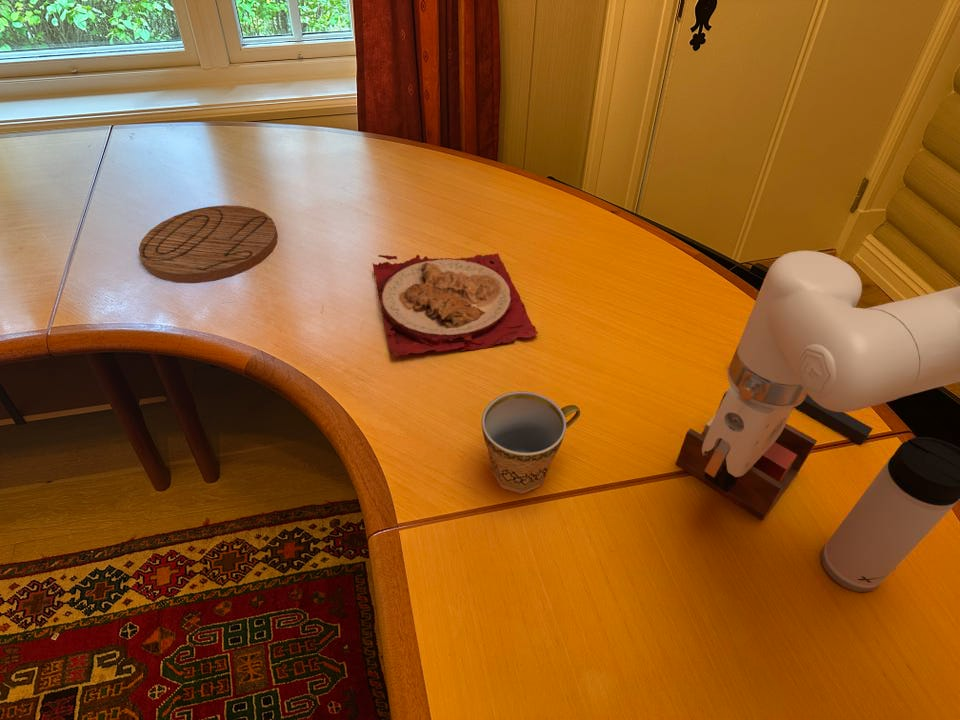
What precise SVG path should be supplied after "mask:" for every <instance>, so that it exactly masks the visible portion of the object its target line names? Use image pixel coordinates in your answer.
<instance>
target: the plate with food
mask: <svg viewBox="0 0 960 720" xmlns="http://www.w3.org/2000/svg"><path fill="white" fill-rule="evenodd" d="M377 257H379V258H383V259H386V260H388V261H386V262H381V261H379V263H377V264H376V263H375V264H374V262H372V270H373V275H374V276H375V279H376V280H375V283H376V289H377V294H378V299H379V303H380V309H381V312H382V319H383V324H384V328H385V334H386V338H387V339H386V340H387V344H388V349H389V353H390V354H392V355H394V356H395V357H399V356H400V355H401V356H409V354H425V353H426V352H430V351H436V352H437V353H438V352H443V351H444V352H445V351H450V350H452V351H453V350H457V349H460V348H462V349H460V351H461V352H463V351H465V352H466V351H474V350H479V349H489V348H495V345H500V344H509V343H512V342H514V341H516V340H517V339H518V338H525V339H527V338H532V337H535V336H536V335H538V333H539V332H538V331H537V330H536V326H535V325H533V323H532V321H531V319H530V317H529V315H528V313H527V309H526V306H525V303H524V302H523V301H522V299H521V295H520V294H519V292H518V290H517V288H516V287H515V284H514V283H513V281H512V278H511V276H510V273H509V271H507V269H506V266H505V263H504V262H503V261H502V260H501V257H500V254H499V252H496V253H493V254H492V253H490V254H485V255H482V254H476V255H475V256H471V257H460V258H452V257H444V258H443V257H441V258H430V257H427V256H426V255H425V256H424V257H423V258H421V256H420V254H416V256H415V257H413V258H410V259H409V260H405V261H404V262H399V263H397V262H394V263H391V262H389V261H392V260H398V257H397V255H388V254H387V255H383V254H379V255H377ZM491 262H492V263H493V264H492V263H491Z"/></svg>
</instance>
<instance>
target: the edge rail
mask: <svg viewBox="0 0 960 720" xmlns="http://www.w3.org/2000/svg"><path fill="white" fill-rule="evenodd" d="M794 409H796V410H798V411H800V412H802V413H804V414H805V415H807V416H808V417H810V418H812V419H813V420H816V421H817V422H819V423H821V424H822V425H824V426H826V427H828V428H829V429H831V430H833V431H834V432H836V433H838V434H839V435H841V436H843V437H845V438H846V439H848V440H850V441H852V442H853V443H855V444H857V445H859V446H862V444H863V443H864V442H865V441H866V440H867V438H868V437H869V436H870V434H871V432H872V431H873V429H874V428H873V427H871V426H869V425H867V424H866V423H864V422H862V421H861V420H859V419H857V418H855V417H853V416H851V415H849V414H848V413H847V412H834V411H831V410H828V409H825V408H823V407H822V406H820V405H819V404H817V403H816V402H815V401H814V400H813V399H812V398H811V397H810V396H809V395H808V394H807V396H806V398H805V399H804V401H803V402H802V403H801V404H799V405H798V406H796V407H794Z"/></svg>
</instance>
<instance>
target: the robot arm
mask: <svg viewBox="0 0 960 720" xmlns="http://www.w3.org/2000/svg"><path fill="white" fill-rule="evenodd" d="M862 293H863V284H862V280H861V277H860V275H859V274H858V272H857V271H856V270H855V269H854V268H853V267H852V266H851V265H850V264H848V263H847V262H846V261H844V260H843V259H841V258H839V257H836V256H834V255H832V254H828V253H825V252H821V251H816V250H815V251H814V250H796V251H791V252H790V251H789V252H787V253H785V254H783V255H781V256H779V257H778V258H777V259H776V260H775V261H774V262H773V263H772V264H771V265H770V266H769V268H768V270H767V273H766V274H765V277H764V279H763V282H762V284H761V287H760V289H759V292H758V295H757V297H756V299H755V302H754V305H753V307H752V310H751V312H750V314H749V317H748V319H747V322H746V324H745V327H744V329H743V332H742V334H741V336H740V340H739V342H738V343H737V346H736V349H735V351H734V354H733V356H732V359H731V361H730V364H729V365H728V369H727V379H728V382H729V384H730V386H729V388H728V389H727V390H726V391H727V393H726V395H725V397H724V399H723V400H722V399H721V400H722V403H721V402H720V403H721V405H720V404H719V405H720V407H719V406H718V408H719V409H718V408H717V410H718V411H717V410H716V413H715V414H716V415H715V414H714V415H715V417H714V419H713V421H712V424H711V426H710V428H709V430H708V432H707V435H706V437H705V440H704V443H703V446H702V454H703V456H705V455H708V454H709V453H710V452H711V451H712V450H713V449H714V448H715V450H714V453H713V456H712V457H711V459H710V461H709V463H708V465H707V467H706V468H705V470H704V471H705V472H706V473H705V478H706V479H708V480H709V481H711V482H712V483H713V484H714V485H716V486H718V487H719V488H721V489H722V490H724V491H725V492H729V491H730V489H731V488H732V487H733V486H734V485H735V484H736V482H737V480H738V478H739V477H740V476H743V475H744V474H745V473H746V472H747V471H748V470H749V469H750V468H751V467H752V466H753V465H754V464H755V463H756V462H757V461H758V460H759V459H760V458H761V456H762V455H763V454H764V453H765V452H766V451H767V450H768V449H769V448H770V447H771V445H772V444H773V443H774V442H775V441H776V440H777V438H778V437H779V436H780V434H781V433H782V431H783V429H784V427H785V424H787V423H788V420H789V418H790V416H791V414H792V411H793V409H794V408H795V407H796V406H798V405H799V404H801V403H802V402H803V401H804V399H805V398H806V396H807V394H808V395H809V396H810V397H811V398H812V399H813V400H814V401H815V402H816V403H817V404H819V405H820V406H822V407H823V408H825V409H828V410H831V411H834V412H844V413H851V412H852V413H853V412H857V411H861V410H864V409H868V408H871V407H875V406H878V405H881V404H885V403H888V402H892V401H895V400H898V399H901V398H904V397H907V396H912V395H914V394H919V393H922V392H926V391H929V390H933V389H937V388H940V387H941V388H942V387H944V386H948V385H952V384H956V383H960V285H958V286H953V287H951V288H947V289H942V290H938V291H933V292H931V293H927V294H923V295H919V296H914V297H911V298H907V299H906V298H905V299H901V300H896V301H892V302H891V301H890V302H888V303H883V304H879V305H876V306H871V307H867V308H864V307H863V308H862V307H857V305H858V303H859V301H860V300H861V296H862Z"/></svg>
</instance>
